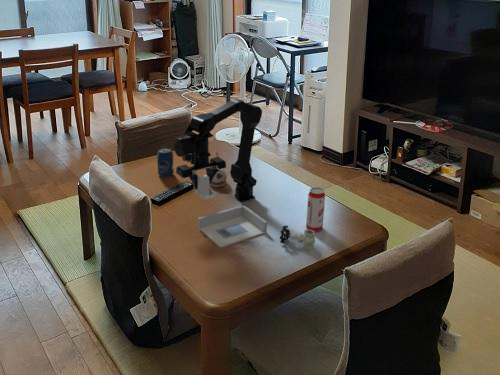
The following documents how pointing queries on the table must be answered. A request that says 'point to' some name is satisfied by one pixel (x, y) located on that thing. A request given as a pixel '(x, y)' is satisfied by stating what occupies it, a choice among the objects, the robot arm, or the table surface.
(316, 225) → the beer can
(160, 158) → the soda can
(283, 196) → the table surface
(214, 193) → the bracket
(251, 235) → the tray
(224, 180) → the decorative ornament
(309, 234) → the valve
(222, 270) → the table surface
